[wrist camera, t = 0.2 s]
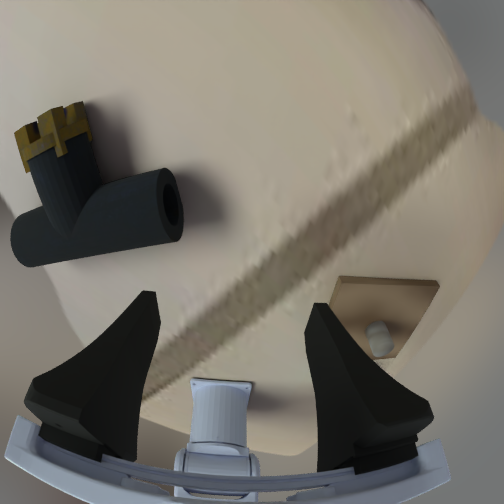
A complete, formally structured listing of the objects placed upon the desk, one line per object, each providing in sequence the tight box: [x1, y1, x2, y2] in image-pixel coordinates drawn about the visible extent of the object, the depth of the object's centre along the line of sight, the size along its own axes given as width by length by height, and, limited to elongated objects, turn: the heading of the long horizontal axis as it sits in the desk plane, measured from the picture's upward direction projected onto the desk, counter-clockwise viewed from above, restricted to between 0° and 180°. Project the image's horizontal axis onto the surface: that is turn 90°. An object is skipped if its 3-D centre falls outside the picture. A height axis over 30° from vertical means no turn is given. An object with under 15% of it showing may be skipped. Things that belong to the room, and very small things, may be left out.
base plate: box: [329, 276, 440, 360], centre depth 26 cm, size 12×12×4 cm
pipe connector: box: [11, 101, 184, 267], centre depth 16 cm, size 12×5×15 cm
